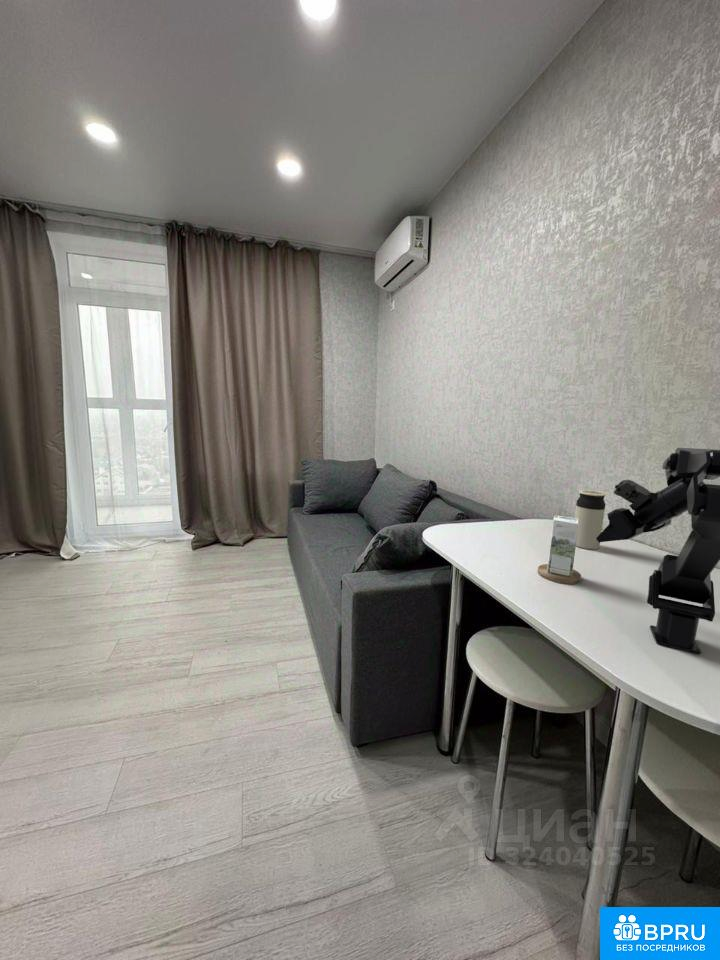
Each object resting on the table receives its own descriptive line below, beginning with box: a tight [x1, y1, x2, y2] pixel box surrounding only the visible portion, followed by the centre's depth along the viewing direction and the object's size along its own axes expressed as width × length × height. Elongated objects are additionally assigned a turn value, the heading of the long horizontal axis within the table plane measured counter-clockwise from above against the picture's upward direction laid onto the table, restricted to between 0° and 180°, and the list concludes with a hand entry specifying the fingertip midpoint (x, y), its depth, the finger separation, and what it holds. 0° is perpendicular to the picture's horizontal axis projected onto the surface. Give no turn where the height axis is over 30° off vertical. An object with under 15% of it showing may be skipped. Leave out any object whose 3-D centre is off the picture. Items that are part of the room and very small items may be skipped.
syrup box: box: [547, 514, 579, 577], centre depth 98 cm, size 6×6×14 cm
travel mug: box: [574, 489, 607, 550], centre depth 124 cm, size 8×8×18 cm
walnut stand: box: [537, 563, 582, 585], centre depth 100 cm, size 10×10×1 cm
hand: (607, 537), depth 89 cm, fingers open, 9 cm apart
